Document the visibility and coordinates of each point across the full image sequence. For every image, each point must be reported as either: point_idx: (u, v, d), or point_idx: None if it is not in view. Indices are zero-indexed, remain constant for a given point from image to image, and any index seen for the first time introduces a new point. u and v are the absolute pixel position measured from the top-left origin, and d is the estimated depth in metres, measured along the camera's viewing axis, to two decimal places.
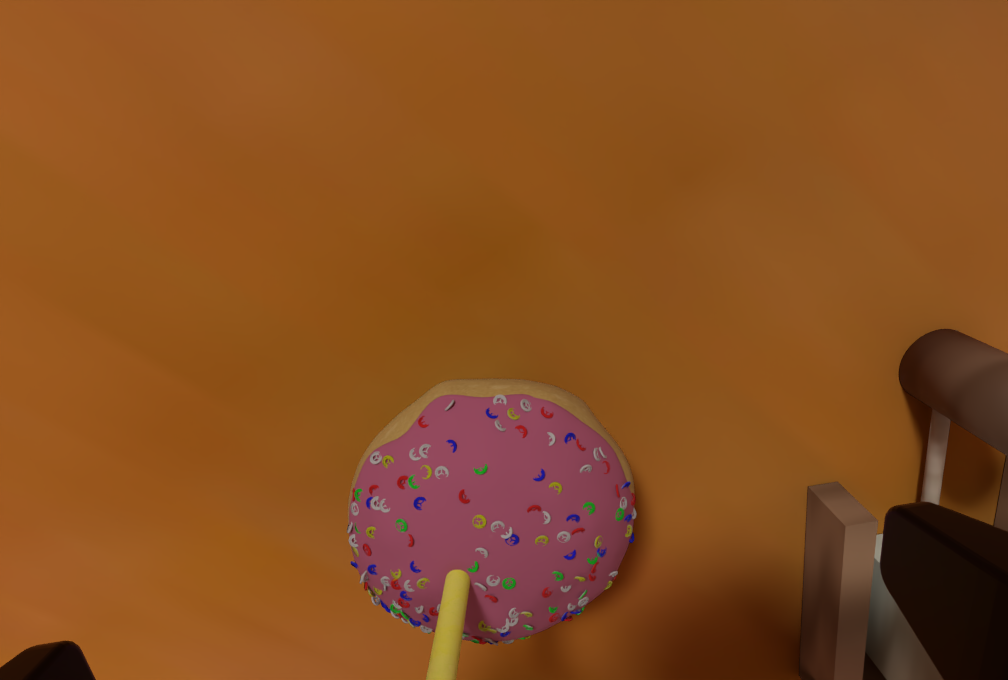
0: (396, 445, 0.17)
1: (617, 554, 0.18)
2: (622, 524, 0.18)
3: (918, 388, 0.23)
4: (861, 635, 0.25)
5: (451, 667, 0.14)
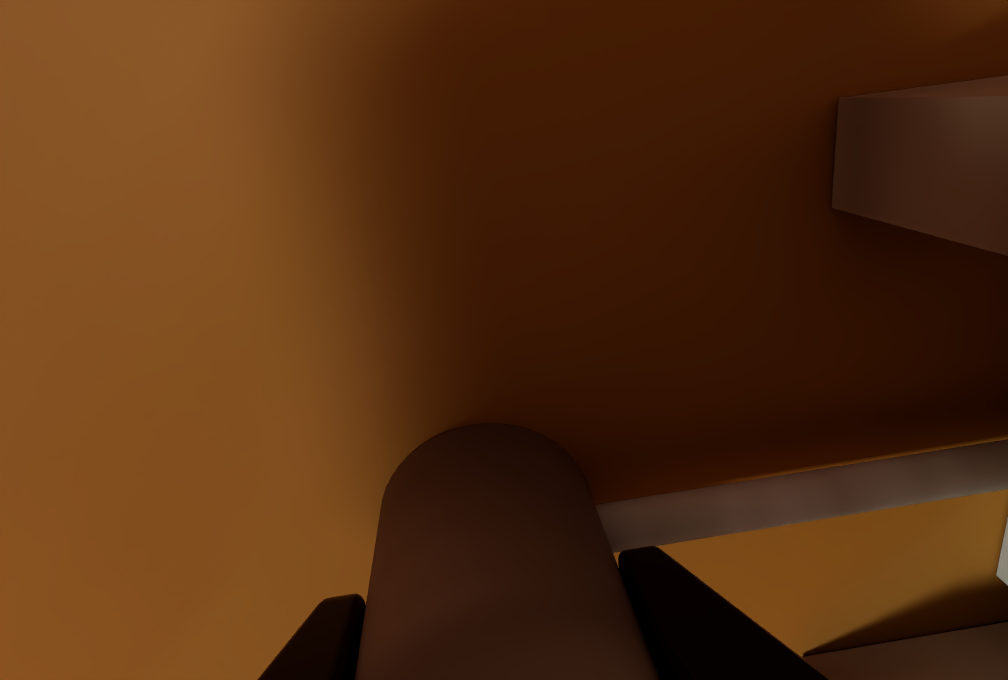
0: None
1: None
2: None
3: None
4: None
5: None
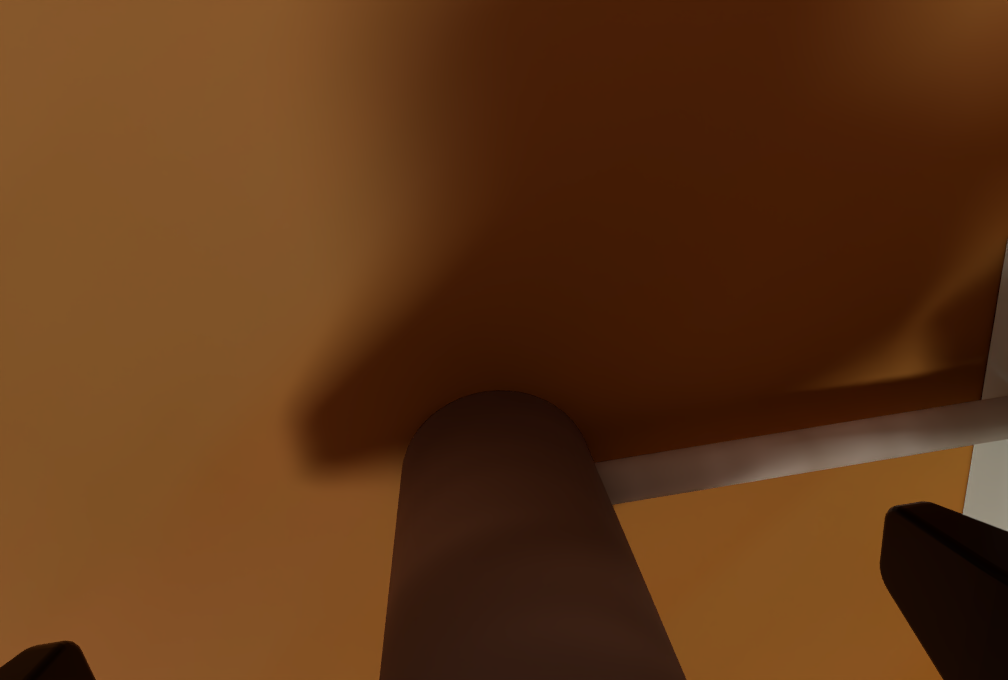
0: None
1: None
2: None
3: None
4: None
5: None
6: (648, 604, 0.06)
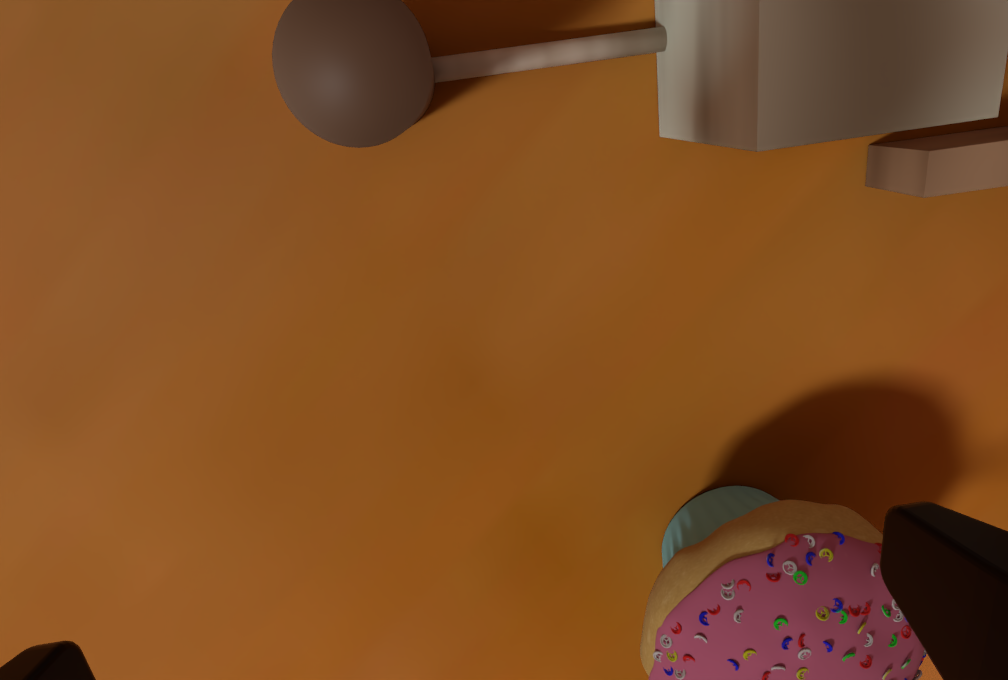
0: None
1: (849, 572, 0.17)
2: (814, 569, 0.17)
3: None
4: None
5: None
6: None
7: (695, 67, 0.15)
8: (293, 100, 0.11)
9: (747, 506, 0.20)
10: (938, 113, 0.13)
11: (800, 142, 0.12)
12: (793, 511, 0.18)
